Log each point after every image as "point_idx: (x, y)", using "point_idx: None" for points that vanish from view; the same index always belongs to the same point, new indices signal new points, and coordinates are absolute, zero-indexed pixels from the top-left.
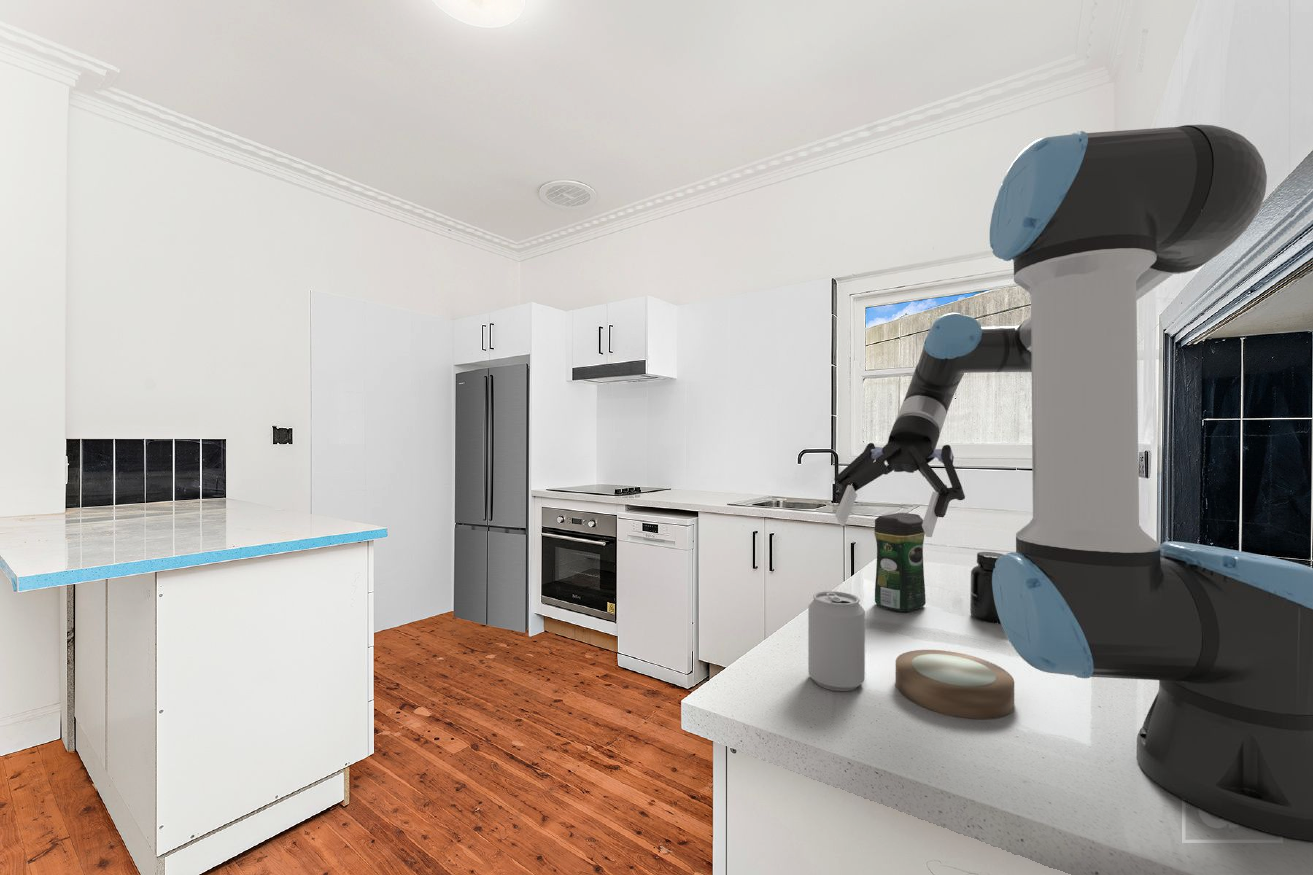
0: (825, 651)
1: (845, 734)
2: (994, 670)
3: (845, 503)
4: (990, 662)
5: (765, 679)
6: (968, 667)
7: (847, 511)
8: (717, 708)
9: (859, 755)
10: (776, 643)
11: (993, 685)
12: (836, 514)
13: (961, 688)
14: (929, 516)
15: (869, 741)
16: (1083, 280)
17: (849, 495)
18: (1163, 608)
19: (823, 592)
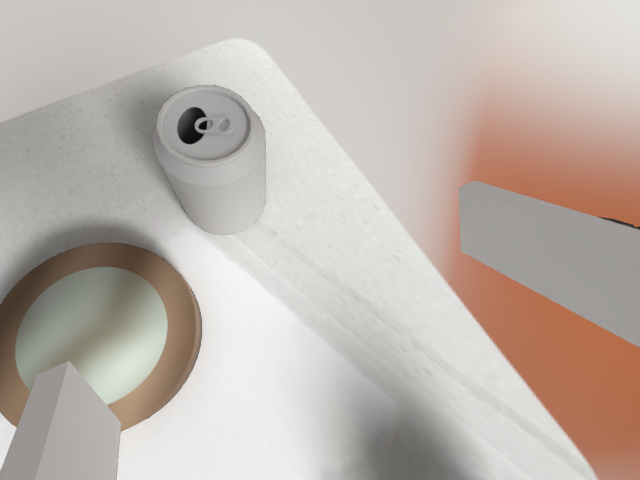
0: (198, 138)
1: (108, 123)
2: None
3: (529, 221)
4: None
5: (270, 126)
6: (81, 369)
7: (514, 257)
8: (227, 48)
9: (66, 109)
10: (378, 206)
11: (10, 349)
12: (475, 184)
13: (38, 286)
14: (19, 430)
15: (81, 135)
16: None
17: (596, 252)
18: None
19: (250, 125)
